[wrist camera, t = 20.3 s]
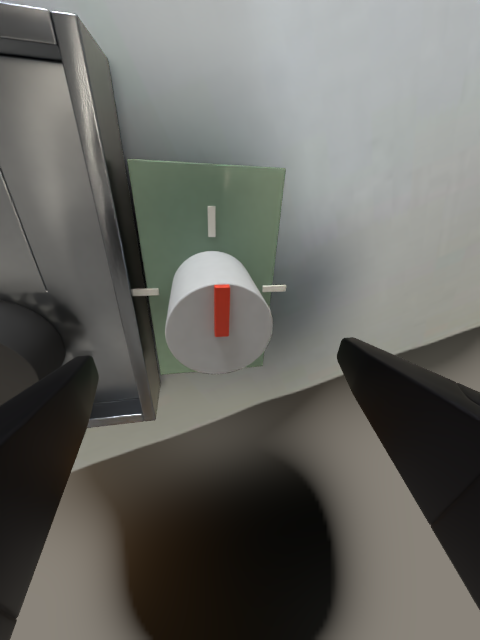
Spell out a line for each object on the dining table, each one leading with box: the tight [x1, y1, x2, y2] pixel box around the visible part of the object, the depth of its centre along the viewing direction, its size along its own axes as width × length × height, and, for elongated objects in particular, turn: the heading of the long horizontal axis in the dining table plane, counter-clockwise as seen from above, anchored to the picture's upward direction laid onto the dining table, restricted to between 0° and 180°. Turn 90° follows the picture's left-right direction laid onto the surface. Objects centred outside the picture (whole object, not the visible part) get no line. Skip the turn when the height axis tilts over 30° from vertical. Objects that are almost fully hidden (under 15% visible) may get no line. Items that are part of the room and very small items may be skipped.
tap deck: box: [127, 159, 286, 375], centre depth 15 cm, size 9×12×3 cm
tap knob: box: [165, 251, 273, 374], centre depth 12 cm, size 4×4×5 cm
